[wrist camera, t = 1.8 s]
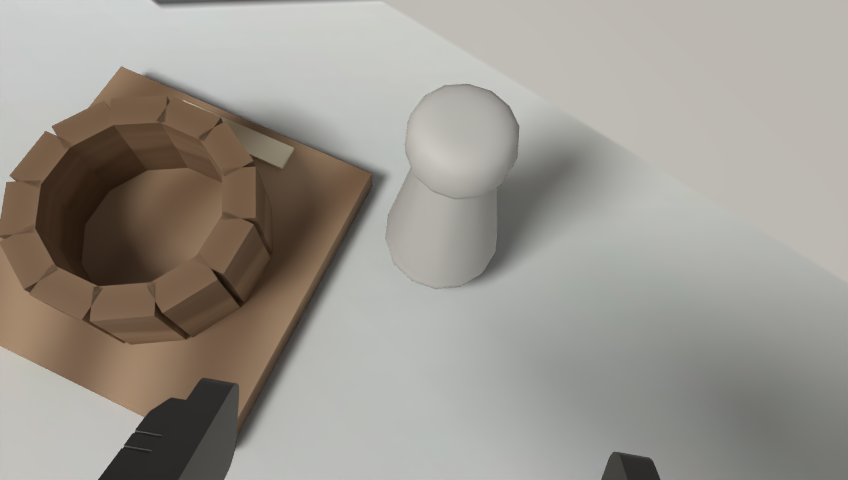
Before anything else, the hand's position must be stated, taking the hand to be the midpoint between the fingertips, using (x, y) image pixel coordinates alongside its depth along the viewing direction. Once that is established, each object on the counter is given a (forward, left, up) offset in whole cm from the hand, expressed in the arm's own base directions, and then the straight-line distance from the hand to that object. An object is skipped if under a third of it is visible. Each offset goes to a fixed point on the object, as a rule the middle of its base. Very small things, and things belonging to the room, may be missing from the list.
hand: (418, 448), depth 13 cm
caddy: (+16, -5, -18) cm, 25 cm away
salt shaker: (+3, -11, -18) cm, 22 cm away
